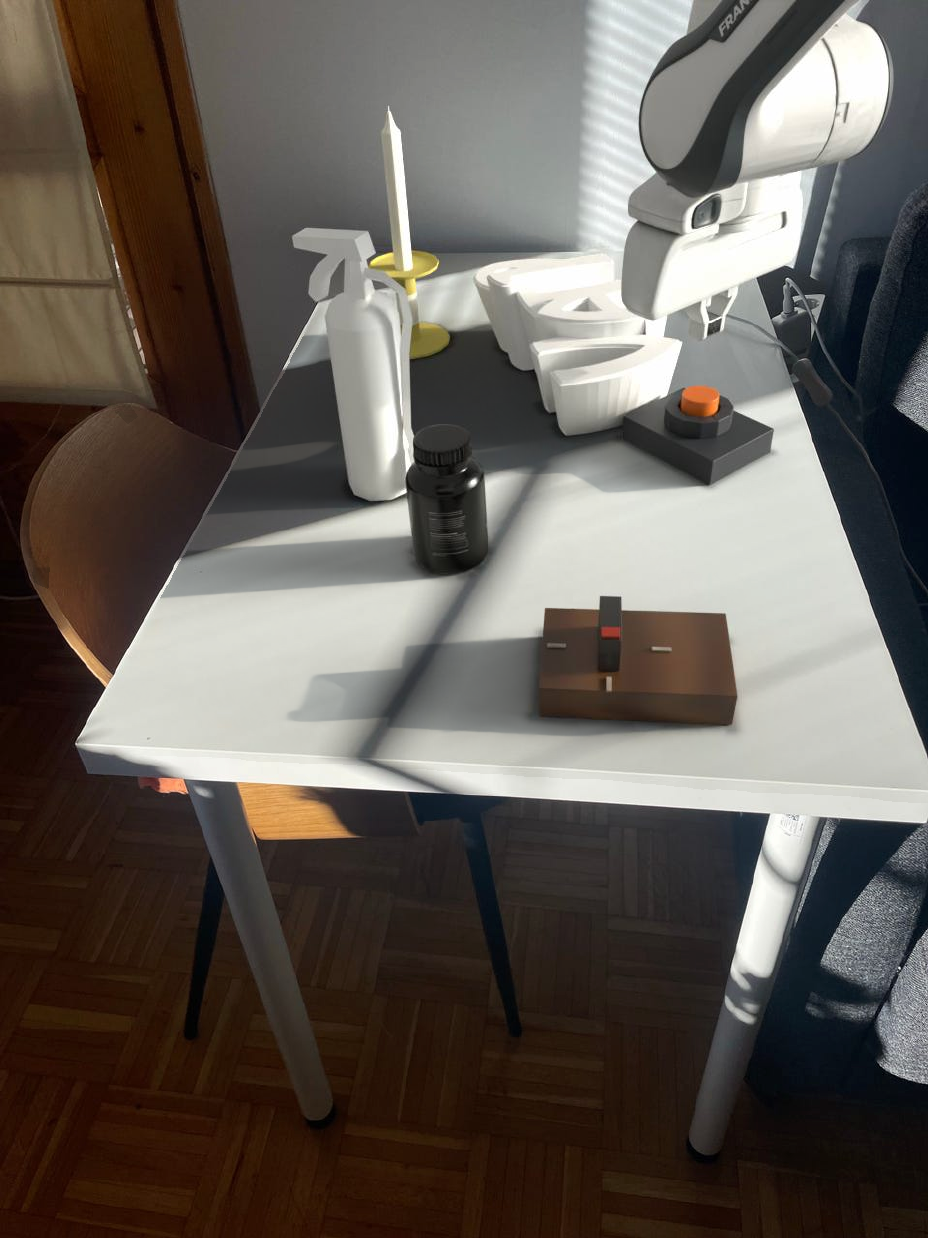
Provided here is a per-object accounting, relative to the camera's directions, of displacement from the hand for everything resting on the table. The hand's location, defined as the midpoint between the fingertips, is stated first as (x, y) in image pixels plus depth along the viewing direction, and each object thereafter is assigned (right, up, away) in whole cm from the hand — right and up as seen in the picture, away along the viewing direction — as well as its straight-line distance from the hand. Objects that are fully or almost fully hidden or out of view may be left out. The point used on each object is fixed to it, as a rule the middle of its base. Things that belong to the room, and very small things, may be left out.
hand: (705, 334), depth 91 cm
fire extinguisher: (-30, -14, +5) cm, 34 cm away
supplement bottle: (-24, -21, -4) cm, 32 cm away
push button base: (+1, -9, +8) cm, 12 cm away
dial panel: (-10, -32, -17) cm, 37 cm away
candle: (-30, +8, +30) cm, 43 cm away
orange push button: (+1, -6, +5) cm, 8 cm away
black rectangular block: (-12, -29, -19) cm, 37 cm away
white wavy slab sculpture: (-11, +1, +21) cm, 23 cm away
